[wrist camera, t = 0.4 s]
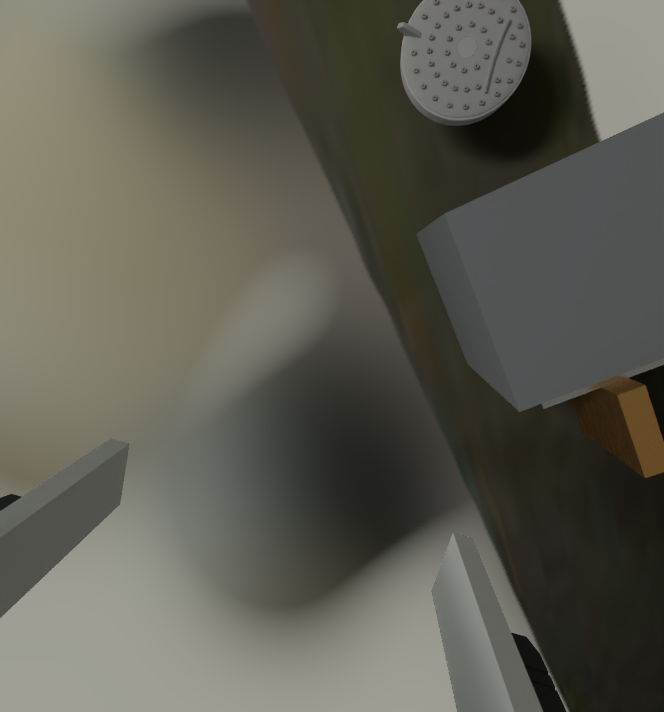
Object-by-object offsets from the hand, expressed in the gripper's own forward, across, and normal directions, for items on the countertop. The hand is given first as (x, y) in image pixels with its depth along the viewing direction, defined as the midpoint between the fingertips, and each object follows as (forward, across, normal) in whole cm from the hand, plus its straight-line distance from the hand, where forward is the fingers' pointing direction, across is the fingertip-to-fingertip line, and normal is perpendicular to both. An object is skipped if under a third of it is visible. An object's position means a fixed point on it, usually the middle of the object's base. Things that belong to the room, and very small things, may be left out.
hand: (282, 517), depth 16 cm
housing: (+27, +14, +13) cm, 33 cm away
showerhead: (+27, +3, +27) cm, 38 cm away
